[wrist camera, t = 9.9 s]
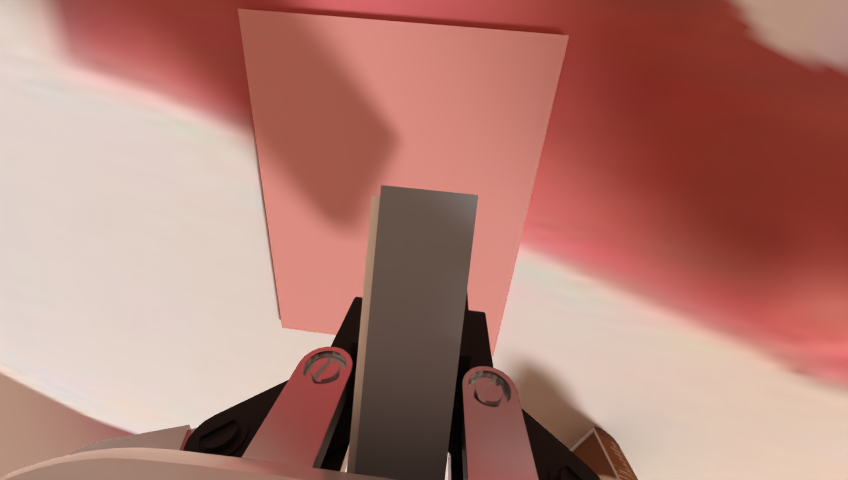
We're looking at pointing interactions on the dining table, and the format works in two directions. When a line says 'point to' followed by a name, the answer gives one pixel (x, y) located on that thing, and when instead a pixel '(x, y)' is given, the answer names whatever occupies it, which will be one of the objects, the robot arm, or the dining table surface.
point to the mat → (391, 143)
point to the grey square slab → (410, 332)
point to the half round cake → (603, 456)
